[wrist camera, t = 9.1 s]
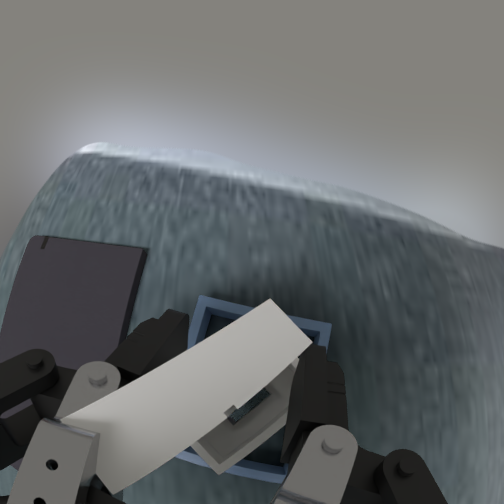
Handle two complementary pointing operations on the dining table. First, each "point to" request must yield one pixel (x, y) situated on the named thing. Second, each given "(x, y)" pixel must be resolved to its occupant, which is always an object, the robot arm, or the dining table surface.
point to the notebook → (70, 302)
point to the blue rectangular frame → (197, 335)
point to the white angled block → (199, 400)
